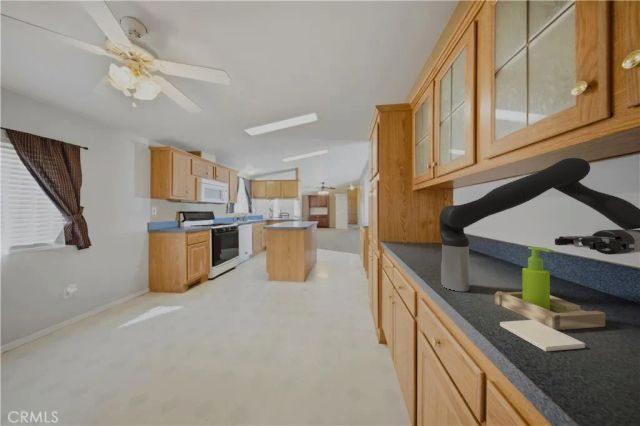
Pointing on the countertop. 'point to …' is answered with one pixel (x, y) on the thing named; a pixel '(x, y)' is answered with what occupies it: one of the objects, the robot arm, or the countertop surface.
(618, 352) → the countertop surface
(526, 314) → the pine rack
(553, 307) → the offcut stack
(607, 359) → the countertop surface
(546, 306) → the soap dispenser
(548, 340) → the cream tile
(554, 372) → the countertop surface
